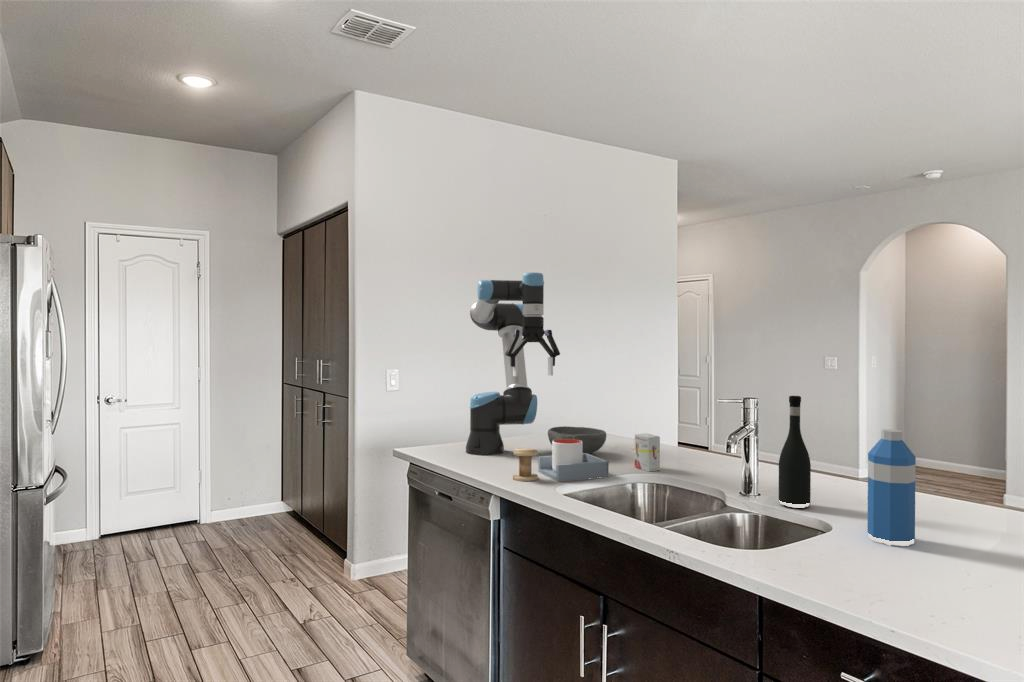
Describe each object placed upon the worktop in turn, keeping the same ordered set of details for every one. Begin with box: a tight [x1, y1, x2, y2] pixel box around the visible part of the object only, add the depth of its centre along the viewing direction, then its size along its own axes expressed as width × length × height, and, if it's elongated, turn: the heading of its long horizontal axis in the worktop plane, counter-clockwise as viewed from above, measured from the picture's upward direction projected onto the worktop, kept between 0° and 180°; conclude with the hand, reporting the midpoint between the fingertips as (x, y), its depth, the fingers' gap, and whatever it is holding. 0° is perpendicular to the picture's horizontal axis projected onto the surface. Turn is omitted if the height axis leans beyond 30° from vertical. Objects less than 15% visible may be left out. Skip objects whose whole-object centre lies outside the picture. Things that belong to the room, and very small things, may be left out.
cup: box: [551, 439, 583, 472], centre depth 218 cm, size 10×10×10 cm
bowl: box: [547, 425, 607, 455], centre depth 253 cm, size 23×22×10 cm
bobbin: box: [512, 448, 539, 482], centre depth 212 cm, size 8×8×9 cm
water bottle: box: [867, 428, 917, 541], centre depth 149 cm, size 9×9×25 cm
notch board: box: [537, 453, 610, 483], centre depth 218 cm, size 16×18×5 cm
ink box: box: [634, 432, 661, 473], centre depth 228 cm, size 9×5×12 cm, turn 25°
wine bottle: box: [778, 395, 812, 504], centre depth 179 cm, size 8×8×30 cm
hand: (532, 375), depth 235 cm, fingers open, 13 cm apart
